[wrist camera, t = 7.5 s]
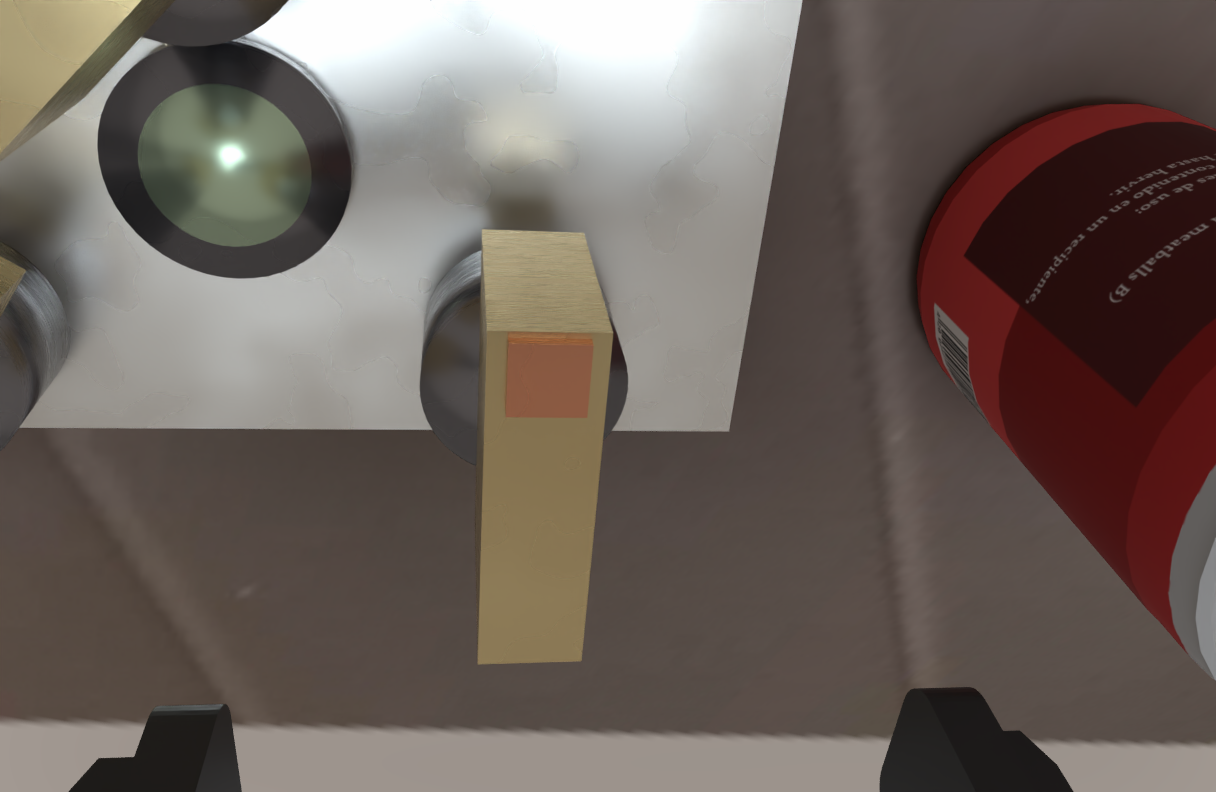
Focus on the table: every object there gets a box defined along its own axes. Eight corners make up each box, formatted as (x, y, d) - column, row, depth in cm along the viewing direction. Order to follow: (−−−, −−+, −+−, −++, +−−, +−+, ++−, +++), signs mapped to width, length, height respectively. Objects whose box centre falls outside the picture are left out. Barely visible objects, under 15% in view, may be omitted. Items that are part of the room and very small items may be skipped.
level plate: (-185, 389, 22) (-247, 445, 20) (-420, -276, 16) (-542, -288, 14) (714, 398, 25) (735, 447, 23) (802, -155, 19) (841, -152, 17)
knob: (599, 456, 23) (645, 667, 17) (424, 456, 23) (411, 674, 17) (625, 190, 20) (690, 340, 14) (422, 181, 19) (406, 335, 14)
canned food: (1092, 431, 27) (1438, 769, 17) (843, 340, 24) (1086, 675, 15) (1288, 171, 23) (1845, 410, 14) (1023, 35, 21) (1479, 215, 12)
